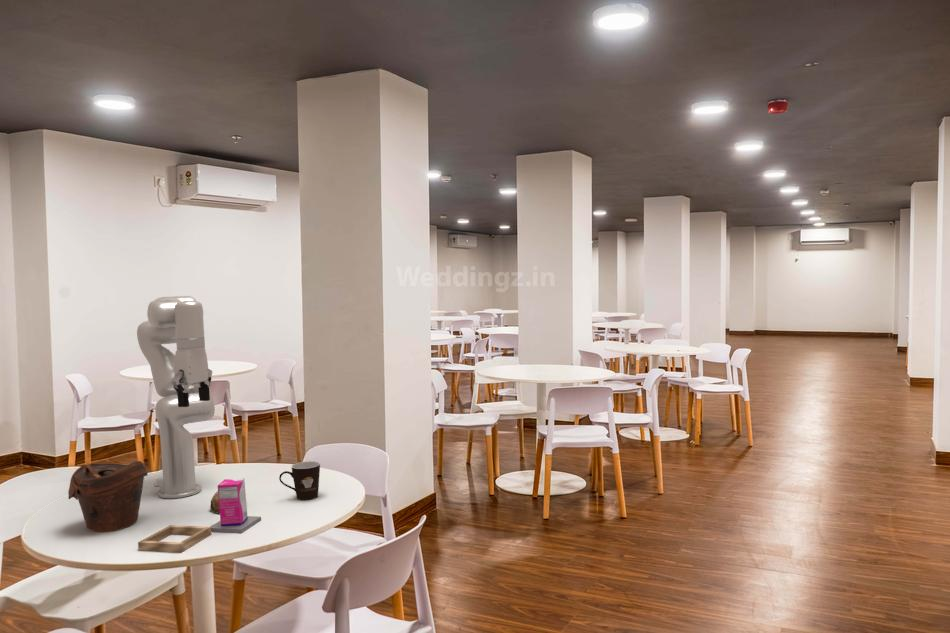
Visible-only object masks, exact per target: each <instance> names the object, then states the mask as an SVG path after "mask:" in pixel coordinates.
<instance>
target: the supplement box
mask: <svg viewBox="0 0 950 633" xmlns="http://www.w3.org/2000/svg"><path fill="white" fill-rule="evenodd" d="M217 491H218V497H219V509H220V514H219V518H220V520H219V521H221V526H235V525H242V524H243V523H244V522H245V521H246V519H247V518H248V516H249V515H248V507H247V497H246V496H247V495H246V482H245V477H241V478H240V477H239V478H227V479H223V480H222V481H221V482H219V484H217Z"/></svg>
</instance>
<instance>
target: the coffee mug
mask: <svg viewBox="0 0 950 633" xmlns="http://www.w3.org/2000/svg"><path fill="white" fill-rule="evenodd" d="M290 467H291V471H288V470H284V471H282V472H281V473H280V474H279V477H278V479H279V481H280V483H281V484H282V485H284V486H285V487H287V488H289V489H291V490H293V491H294V492H295V495H296V499H297V500H299V501H310V500H314V499H317V498H318V497H319V489H320V488H319V487H320V485H319V484H320V473H321V472H320V471H321V463H320V462H318V461H315V460H313V461H311V460H310V461H301V462H296V463H293V464H292V465H291V466H290ZM284 474H288V475H289V476H291V478H292V479H293V484H294V487H293V486H291V485H289V484H287V483H285V482H284V481H283V480H282V476H283V475H284Z"/></svg>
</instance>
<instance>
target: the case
mask: <svg viewBox="0 0 950 633" xmlns="http://www.w3.org/2000/svg"><path fill="white" fill-rule="evenodd" d="M148 474H149V473H148V471H147V468H146V467H145V464H144V462H142V461H140V460H138V461H135V462H131V463H129V464H122V463H121V464H120V463H111V462H110V463H109V462H108V463H107V462H106V463H105V462H104V463H103V462H95V463H86V464H85V465H82V466H80V467H79V468H77V469H76V470H75V471H74V473H73V474H72V475H71V477H70V482H69V488H68V493H67V494H68V499H69V500H71V499H72V498H74V499H75V500H76V501H77V500H78V503H79V506H80V509H81V513H82V516H83V519H84V523H85V526H86V528H87V530H89V531H92V532H113V531H118V530H122V529H125V528H128V527H131V526H133V525H134V524H136V523H137V521H138V519H139V512H140V506H141V500H142V494H143V488H144V487H143V486H144V480H145V477H147V476H148Z"/></svg>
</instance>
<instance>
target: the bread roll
mask: <svg viewBox="0 0 950 633" xmlns="http://www.w3.org/2000/svg"><path fill="white" fill-rule="evenodd" d="M210 512H212V513H215V514H219V515H220V509H219V497H218V490H217V491H216V492H214V494H213V496H212V498H211V499H210Z"/></svg>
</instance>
